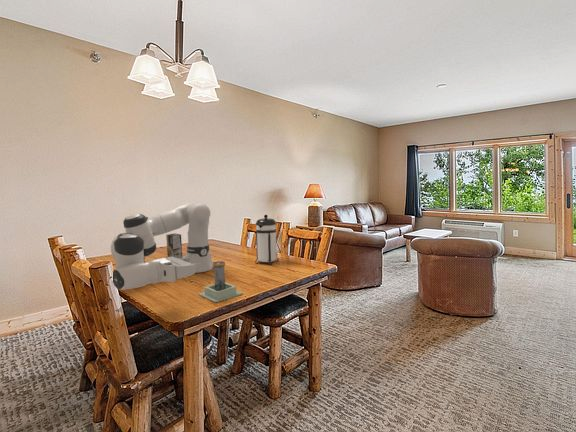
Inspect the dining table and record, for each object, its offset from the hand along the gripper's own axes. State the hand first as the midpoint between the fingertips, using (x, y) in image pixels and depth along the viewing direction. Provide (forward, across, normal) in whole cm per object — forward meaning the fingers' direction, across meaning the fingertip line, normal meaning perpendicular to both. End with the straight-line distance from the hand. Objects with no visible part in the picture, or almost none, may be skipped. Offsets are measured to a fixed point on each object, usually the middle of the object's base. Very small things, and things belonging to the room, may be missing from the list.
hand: (194, 261), depth 128 cm
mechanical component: (+6, -75, -18) cm, 77 cm away
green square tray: (+12, 0, -17) cm, 21 cm away
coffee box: (+29, -82, -18) cm, 89 cm away
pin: (+11, 0, -17) cm, 20 cm away
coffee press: (+64, -28, -19) cm, 72 cm away
